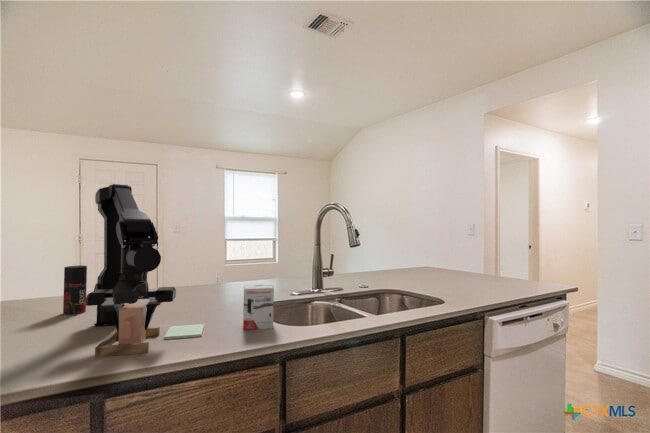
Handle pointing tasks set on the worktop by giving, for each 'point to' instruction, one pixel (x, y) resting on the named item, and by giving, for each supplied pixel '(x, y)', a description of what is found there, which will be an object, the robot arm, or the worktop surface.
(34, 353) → the worktop surface
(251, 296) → the ink box
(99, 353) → the walnut cradle
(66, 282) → the deodorant
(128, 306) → the block with side knob
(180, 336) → the green mat
